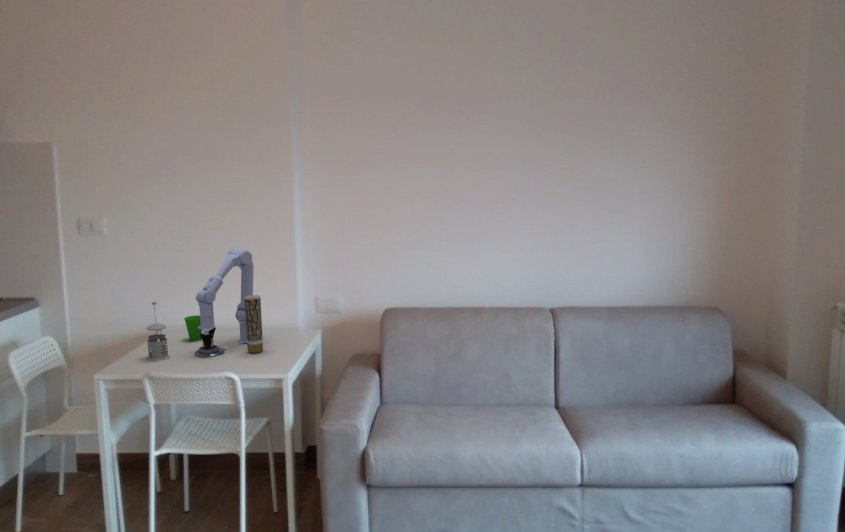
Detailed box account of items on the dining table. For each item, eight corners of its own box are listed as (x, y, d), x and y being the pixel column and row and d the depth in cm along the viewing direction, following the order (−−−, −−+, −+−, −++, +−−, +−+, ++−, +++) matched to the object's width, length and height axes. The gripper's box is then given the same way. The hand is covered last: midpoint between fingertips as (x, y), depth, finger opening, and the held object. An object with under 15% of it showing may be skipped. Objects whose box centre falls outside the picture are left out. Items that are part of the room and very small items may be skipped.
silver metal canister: (204, 350, 286) (203, 337, 285) (215, 350, 286) (214, 337, 285) (202, 353, 281) (201, 340, 280) (213, 353, 282) (212, 340, 281)
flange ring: (225, 348, 291) (225, 342, 291) (223, 356, 279) (223, 350, 278) (196, 350, 289) (195, 344, 288) (192, 358, 276) (191, 352, 276)
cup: (208, 337, 310) (207, 315, 308) (200, 342, 301) (198, 319, 299) (190, 337, 311) (189, 315, 309) (182, 342, 302) (180, 319, 300)
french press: (144, 362, 272) (140, 304, 268) (148, 354, 283) (144, 299, 279) (169, 360, 274) (165, 303, 270) (172, 352, 285) (168, 297, 281)
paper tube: (259, 354, 281) (256, 298, 277) (244, 353, 282) (241, 298, 279) (265, 349, 288) (262, 295, 284) (251, 349, 289) (248, 295, 285)
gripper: (199, 313, 287) (201, 342, 290) (195, 321, 273) (197, 351, 275) (215, 312, 289) (217, 341, 291) (212, 320, 275) (214, 350, 277)
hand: (209, 346), depth 283 cm, fingers open, 7 cm apart
